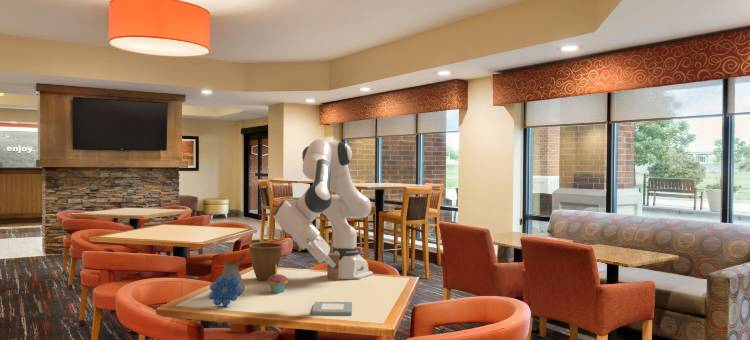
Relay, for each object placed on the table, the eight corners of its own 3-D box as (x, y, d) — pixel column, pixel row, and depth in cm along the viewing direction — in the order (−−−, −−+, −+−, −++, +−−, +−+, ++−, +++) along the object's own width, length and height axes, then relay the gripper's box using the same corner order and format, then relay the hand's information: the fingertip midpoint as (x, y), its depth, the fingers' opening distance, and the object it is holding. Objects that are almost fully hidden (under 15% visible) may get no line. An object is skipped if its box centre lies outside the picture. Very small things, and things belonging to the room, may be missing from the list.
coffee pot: (238, 298, 212) (238, 260, 212) (210, 297, 214) (211, 259, 214) (258, 287, 233) (259, 252, 233) (233, 285, 235) (234, 251, 235)
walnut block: (327, 277, 200) (328, 253, 200) (338, 277, 200) (339, 253, 200) (327, 280, 196) (327, 255, 196) (338, 280, 196) (338, 255, 196)
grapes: (242, 302, 206) (242, 271, 206) (240, 307, 199) (240, 274, 199) (210, 303, 204) (211, 271, 204) (207, 308, 198) (208, 275, 198)
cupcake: (283, 294, 220) (283, 265, 220) (263, 293, 222) (264, 263, 222) (290, 289, 229) (291, 261, 229) (271, 288, 231) (272, 260, 231)
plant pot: (242, 279, 249) (243, 244, 249) (270, 275, 259) (271, 241, 259) (259, 284, 238) (259, 248, 238) (287, 280, 248) (288, 245, 248)
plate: (315, 304, 205) (315, 301, 205) (352, 305, 205) (352, 301, 205) (311, 314, 191) (311, 311, 191) (351, 315, 191) (351, 311, 191)
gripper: (312, 235, 187) (340, 263, 187) (317, 228, 208) (342, 254, 208) (299, 248, 187) (327, 276, 187) (305, 240, 208) (330, 265, 208)
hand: (335, 264), depth 198 cm, fingers closed on walnut block, 4 cm apart
